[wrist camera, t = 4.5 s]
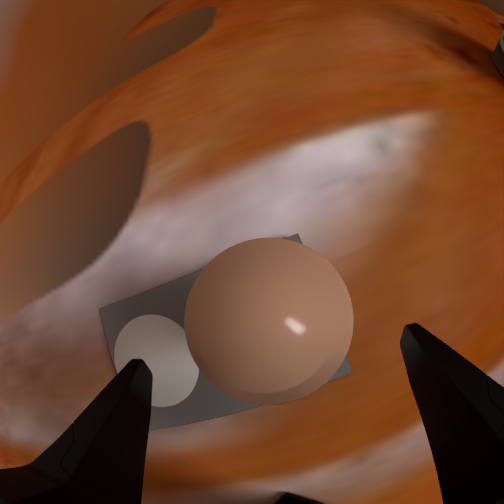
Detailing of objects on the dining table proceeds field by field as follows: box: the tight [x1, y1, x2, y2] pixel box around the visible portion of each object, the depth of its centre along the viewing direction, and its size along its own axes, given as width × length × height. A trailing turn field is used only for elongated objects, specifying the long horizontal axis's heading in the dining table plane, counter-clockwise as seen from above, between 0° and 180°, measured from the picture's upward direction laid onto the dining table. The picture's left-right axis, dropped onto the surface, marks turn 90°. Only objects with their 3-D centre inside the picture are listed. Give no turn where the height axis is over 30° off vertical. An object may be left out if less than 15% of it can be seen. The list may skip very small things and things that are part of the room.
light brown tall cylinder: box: [184, 238, 354, 405], centre depth 12 cm, size 5×5×12 cm
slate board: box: [99, 234, 352, 430], centre depth 18 cm, size 16×10×1 cm, turn 110°
